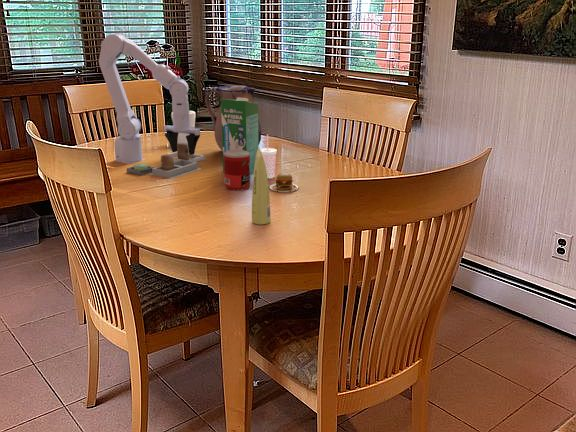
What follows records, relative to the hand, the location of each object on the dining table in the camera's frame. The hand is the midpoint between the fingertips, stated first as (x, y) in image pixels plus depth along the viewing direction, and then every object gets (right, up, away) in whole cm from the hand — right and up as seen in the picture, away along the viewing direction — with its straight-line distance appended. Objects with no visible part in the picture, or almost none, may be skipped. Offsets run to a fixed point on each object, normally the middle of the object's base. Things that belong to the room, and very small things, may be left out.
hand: (183, 153), depth 207 cm
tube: (+31, -24, -56) cm, 68 cm away
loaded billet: (-2, -9, -17) cm, 19 cm away
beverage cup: (+31, -10, -16) cm, 36 cm away
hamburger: (+36, -15, -28) cm, 48 cm away
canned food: (+22, -14, -27) cm, 38 cm away
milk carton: (+22, -8, -10) cm, 25 cm away
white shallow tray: (0, -3, +1) cm, 3 cm away
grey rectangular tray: (0, -9, -14) cm, 17 cm away
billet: (0, -2, +1) cm, 3 cm away
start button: (-11, -9, -15) cm, 21 cm away
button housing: (-11, -9, -15) cm, 21 cm away
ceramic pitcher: (+17, +1, +14) cm, 22 cm away
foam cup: (-4, +6, +28) cm, 29 cm away
